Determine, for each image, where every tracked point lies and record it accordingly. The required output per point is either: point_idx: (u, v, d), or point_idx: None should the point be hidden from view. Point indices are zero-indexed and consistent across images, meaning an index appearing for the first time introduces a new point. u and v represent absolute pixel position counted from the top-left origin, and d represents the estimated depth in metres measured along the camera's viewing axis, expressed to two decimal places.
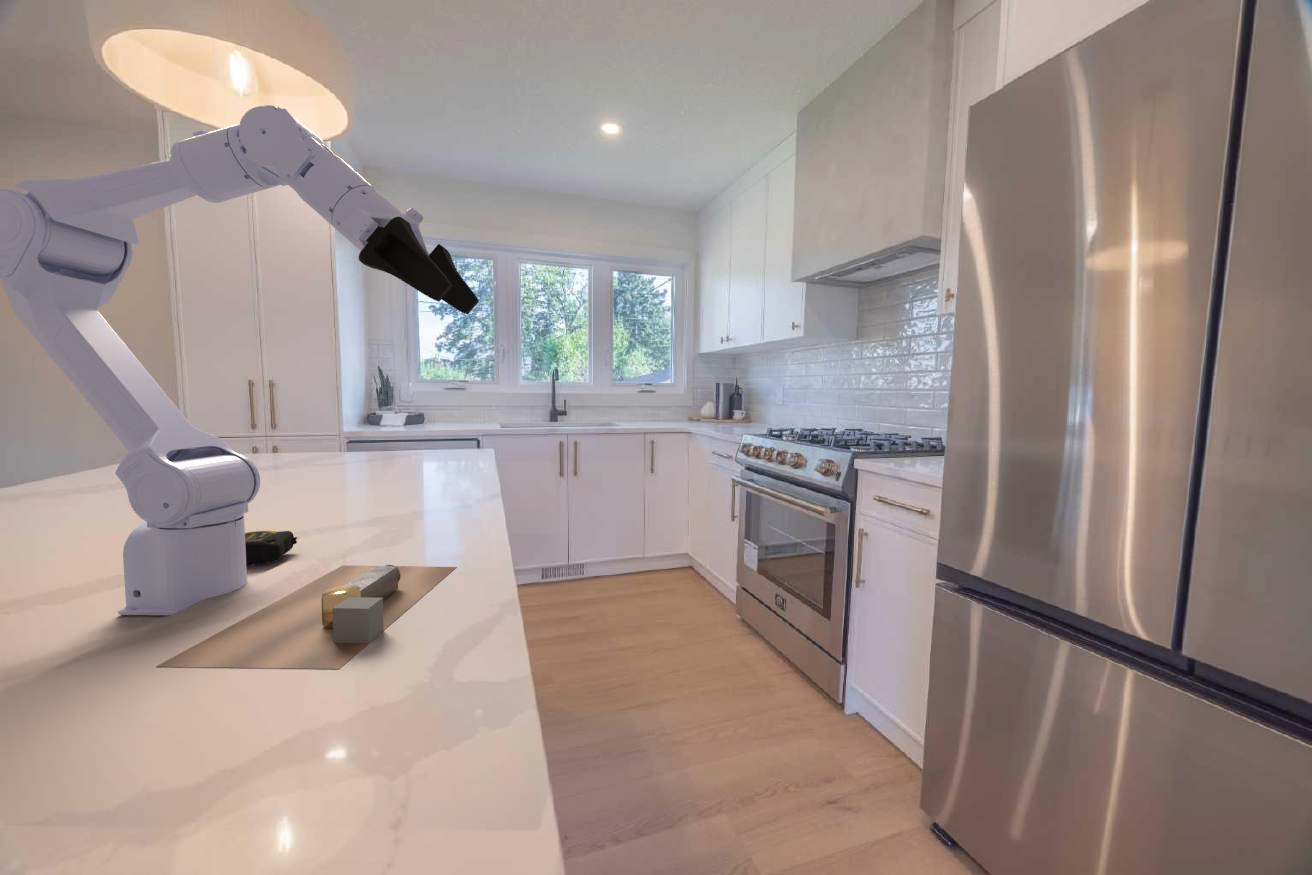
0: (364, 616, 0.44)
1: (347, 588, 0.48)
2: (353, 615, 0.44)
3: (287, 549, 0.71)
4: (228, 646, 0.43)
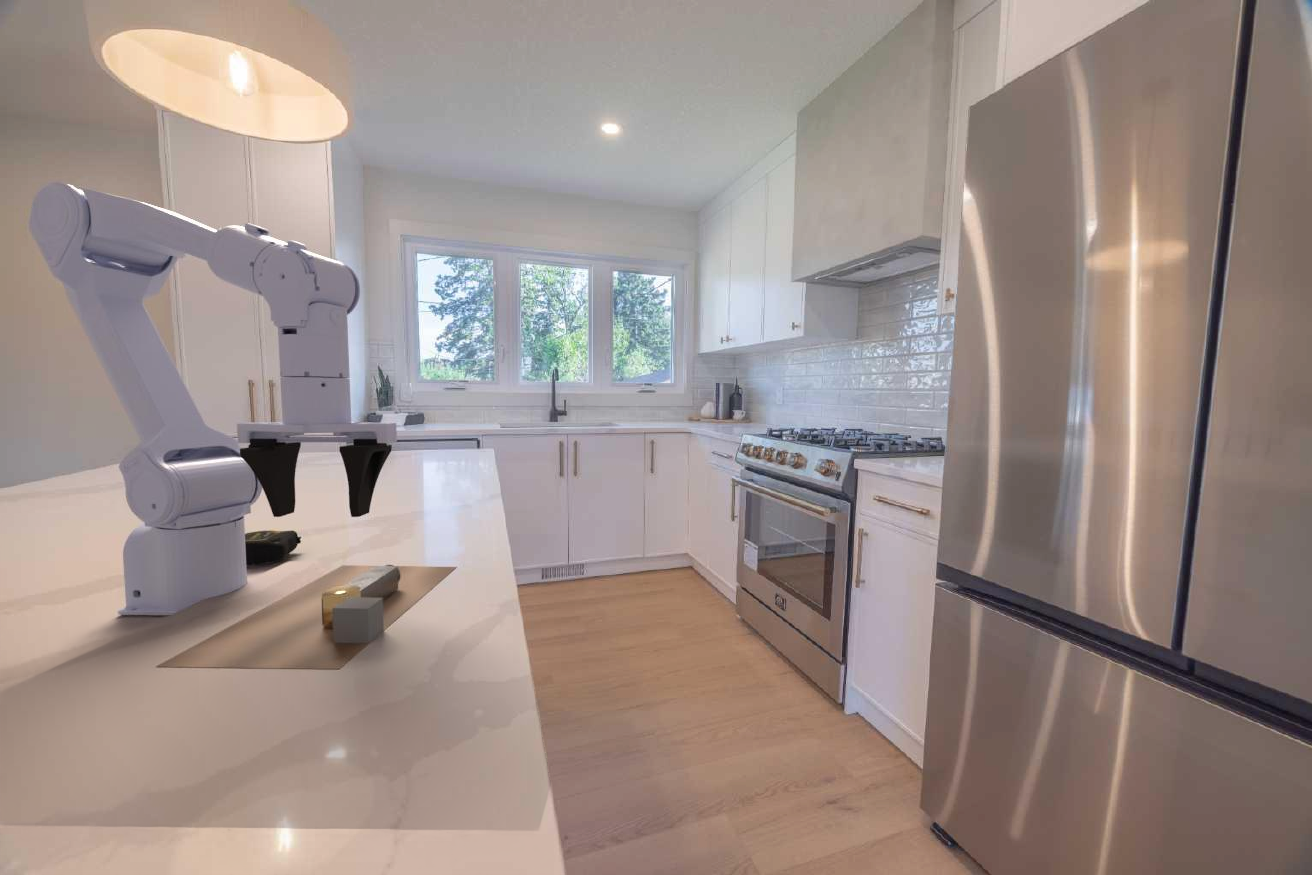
0: (364, 616, 0.44)
1: (347, 588, 0.48)
2: (353, 615, 0.44)
3: (291, 549, 0.71)
4: (228, 646, 0.43)
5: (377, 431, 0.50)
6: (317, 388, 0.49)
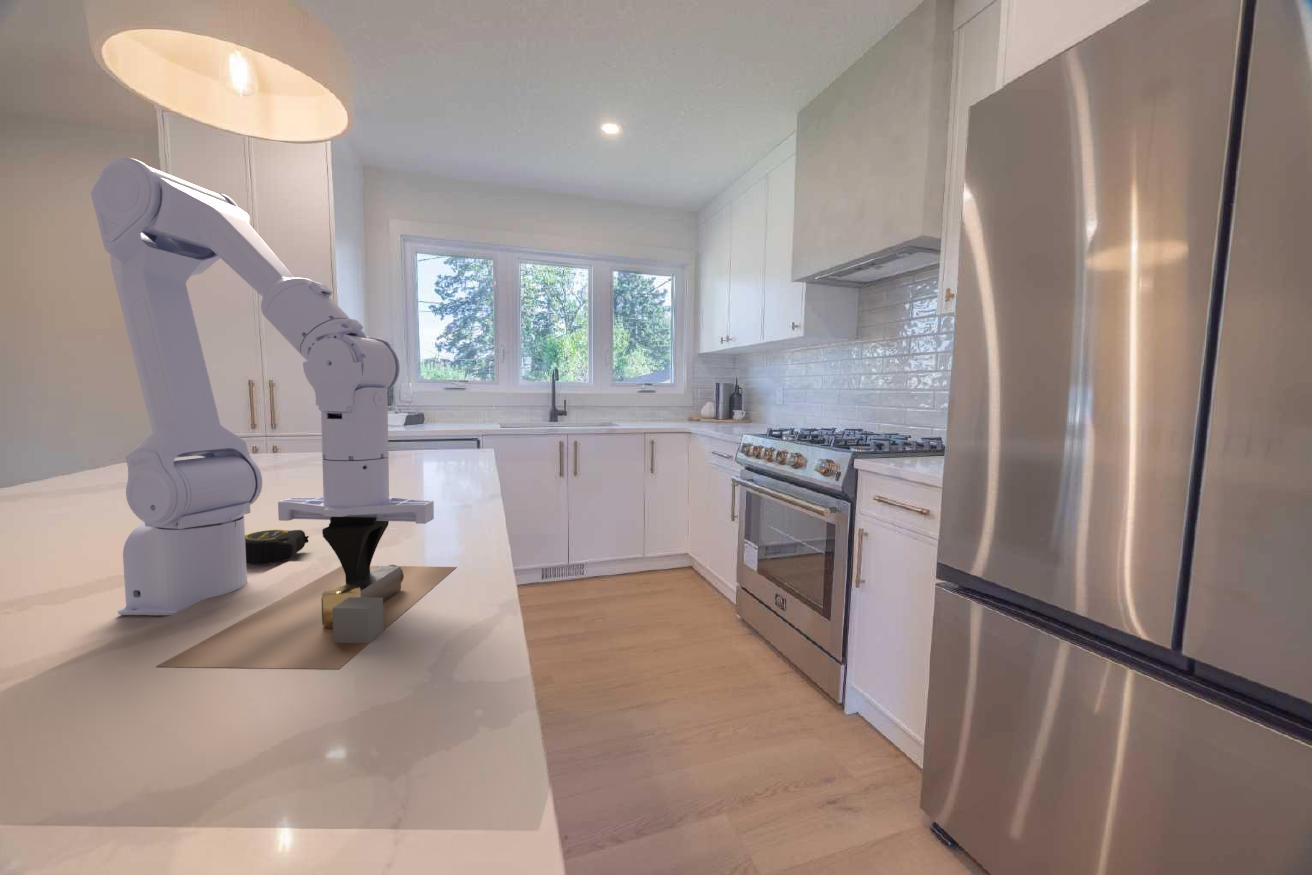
0: (364, 616, 0.44)
1: (347, 588, 0.48)
2: (353, 615, 0.44)
3: (299, 548, 0.71)
4: (228, 646, 0.43)
5: (416, 512, 0.51)
6: (359, 471, 0.49)
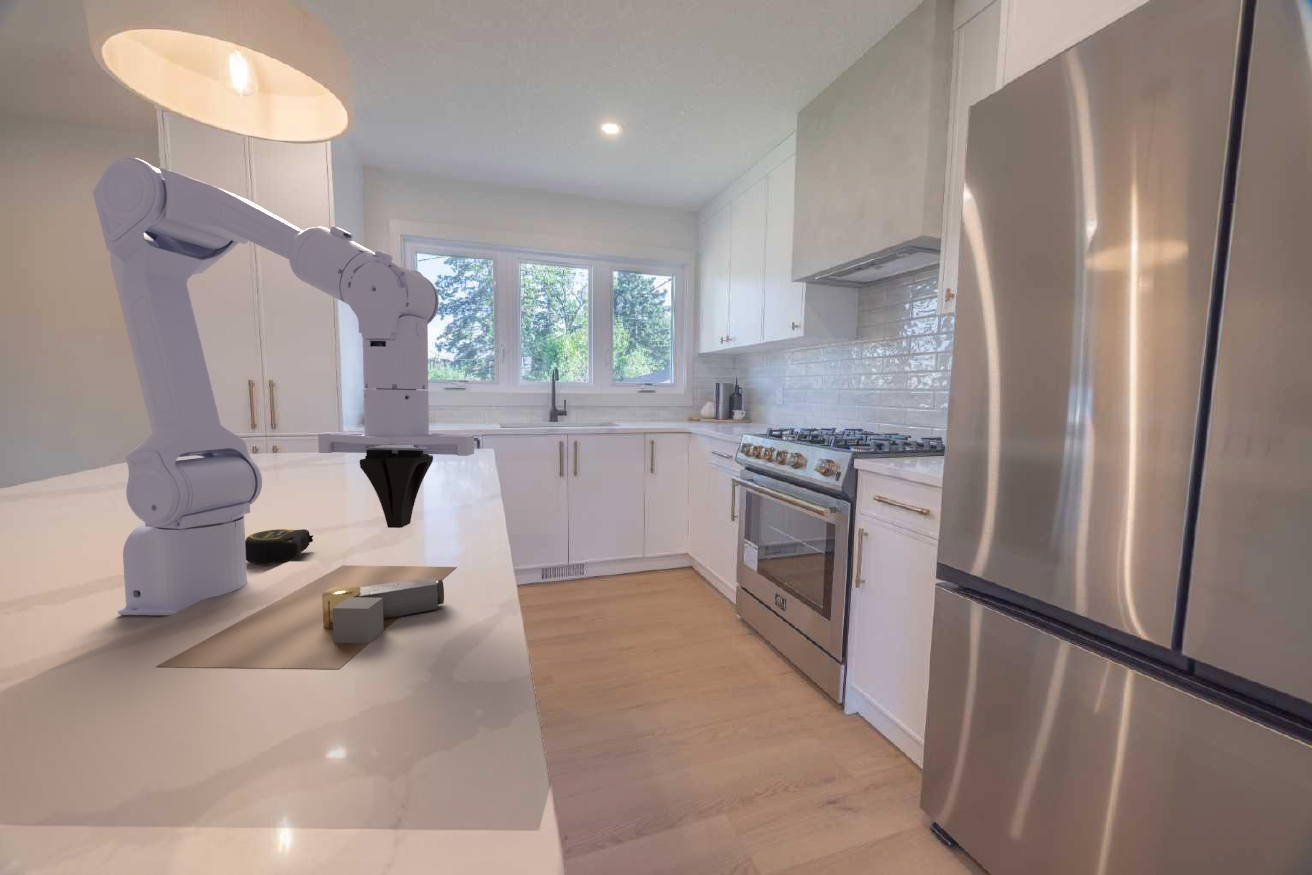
0: (364, 616, 0.44)
1: (350, 590, 0.48)
2: (353, 615, 0.44)
3: (304, 547, 0.72)
4: (228, 646, 0.43)
5: (458, 444, 0.51)
6: (401, 400, 0.49)
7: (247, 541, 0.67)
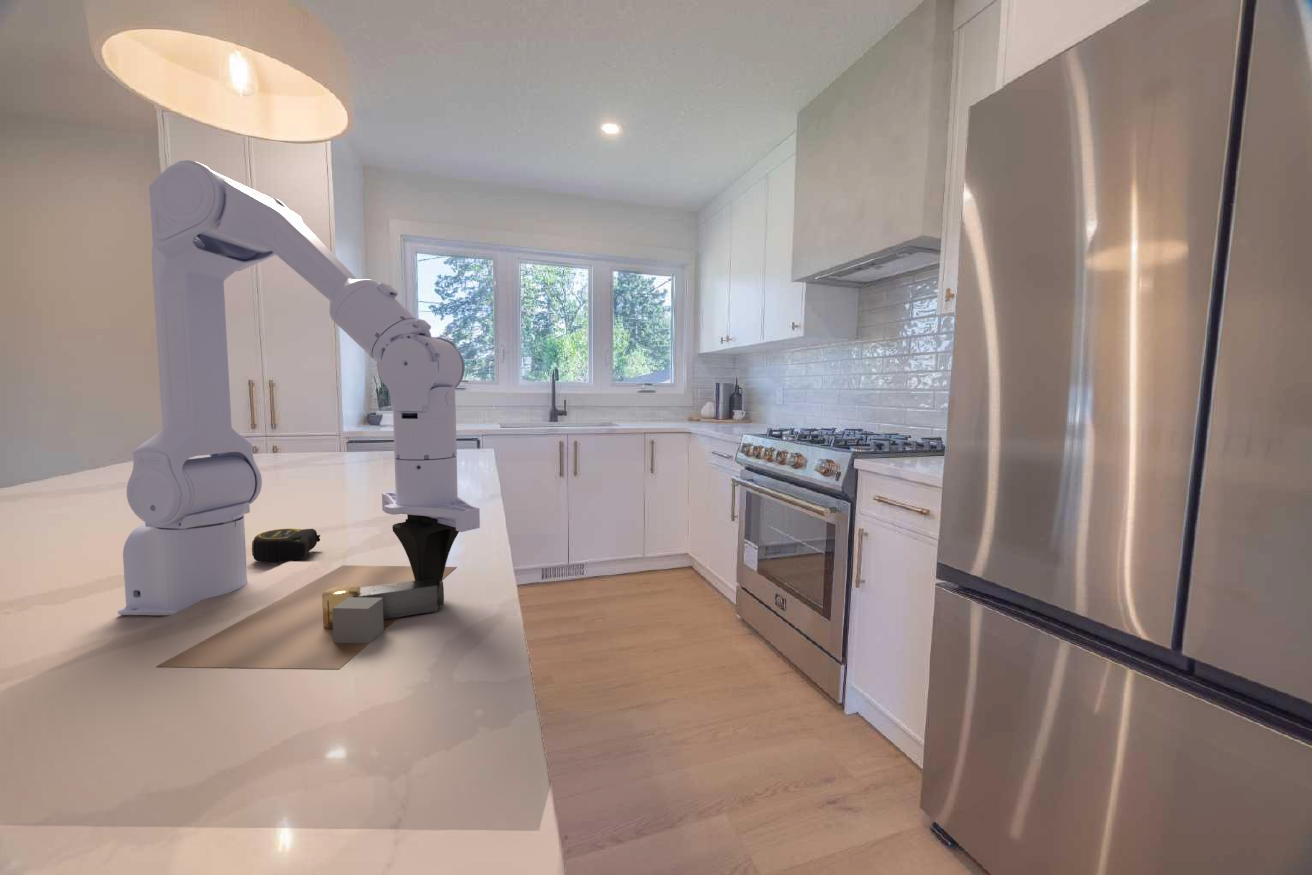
0: (364, 616, 0.44)
1: (350, 590, 0.48)
2: (353, 615, 0.44)
3: (311, 547, 0.72)
4: (228, 646, 0.43)
5: (455, 518, 0.48)
6: (412, 471, 0.49)
7: (255, 540, 0.67)
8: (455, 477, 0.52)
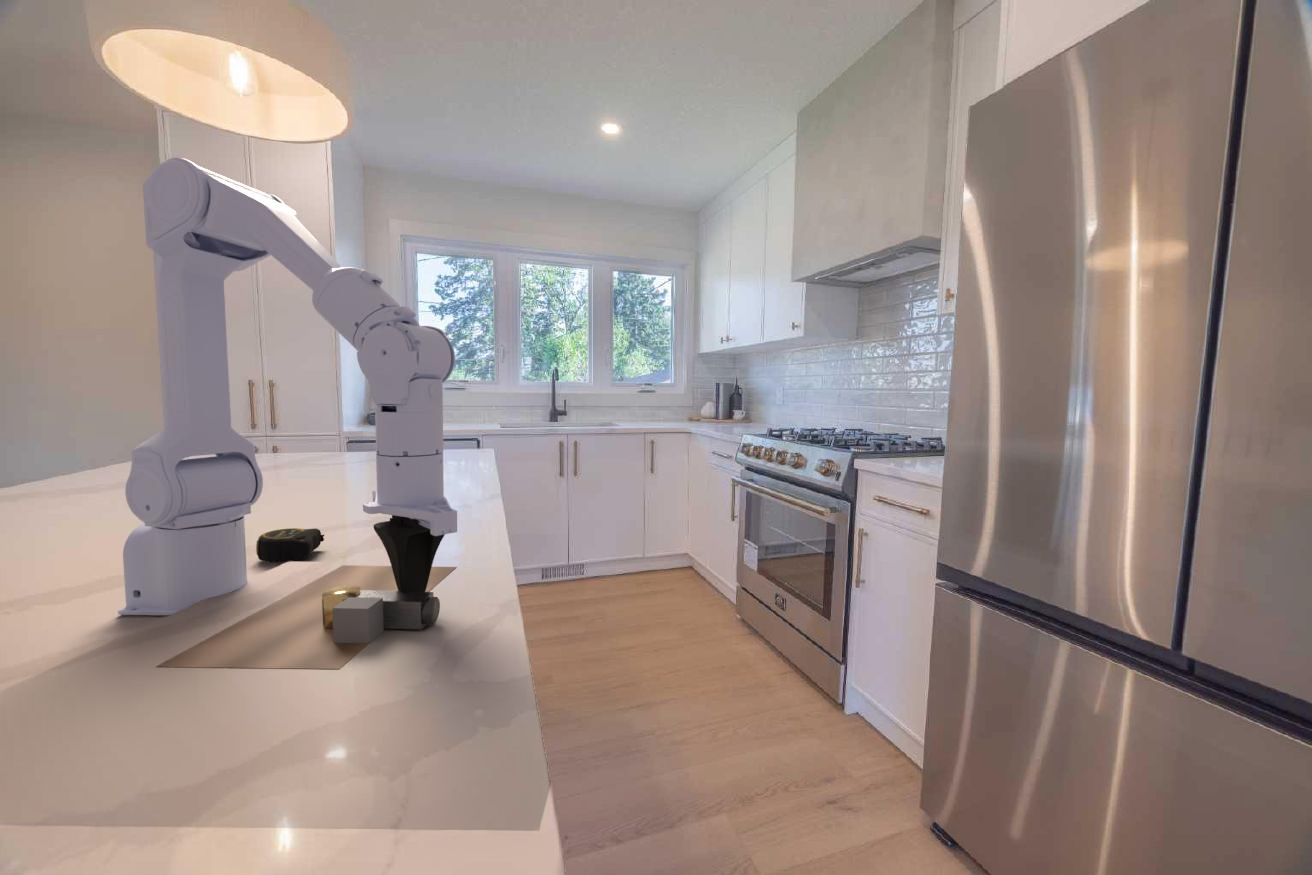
0: (364, 616, 0.44)
1: (348, 592, 0.47)
2: (353, 615, 0.44)
3: (315, 546, 0.72)
4: (228, 646, 0.43)
5: (429, 521, 0.44)
6: (391, 468, 0.46)
7: (260, 540, 0.68)
8: (439, 476, 0.49)
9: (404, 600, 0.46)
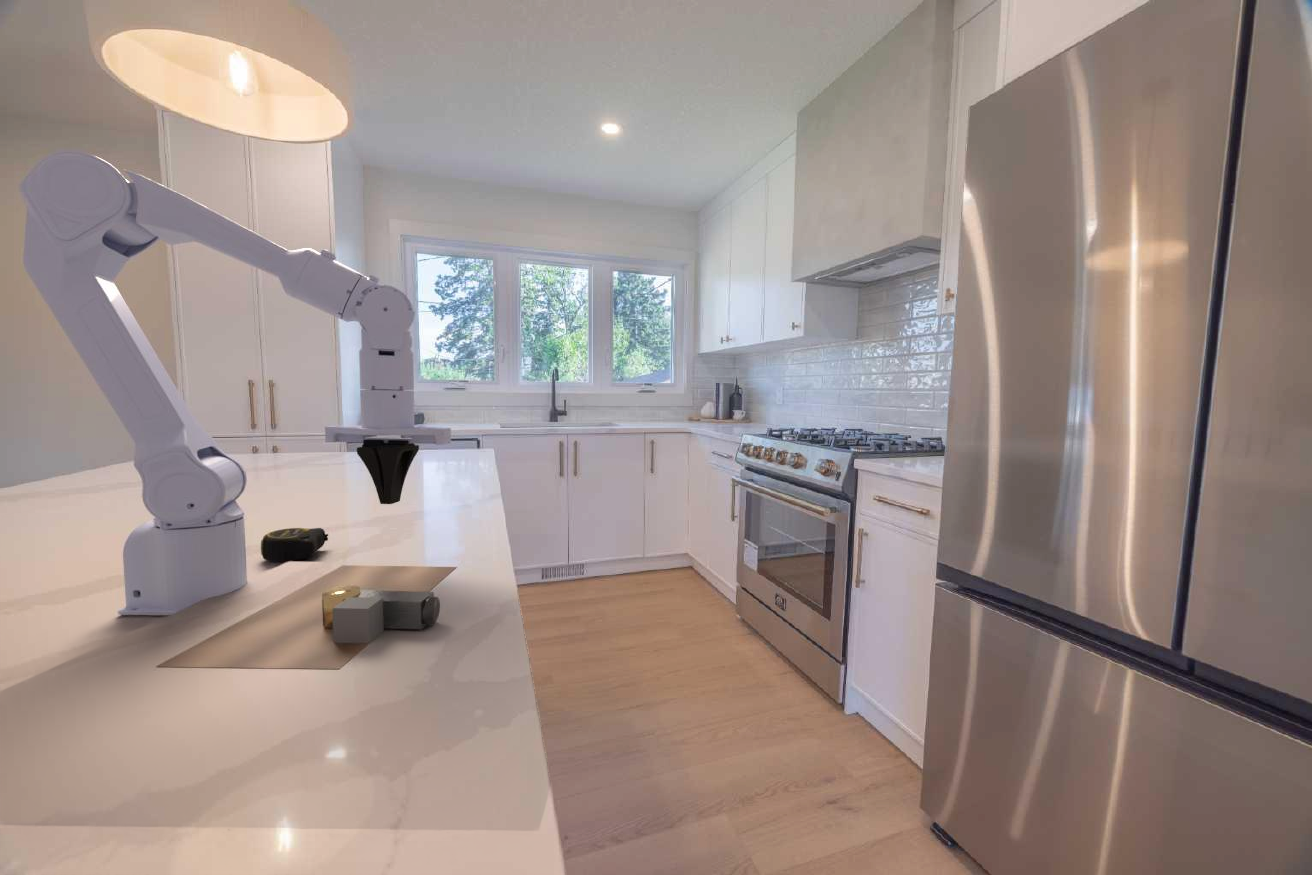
0: (364, 616, 0.44)
1: (348, 592, 0.47)
2: (353, 615, 0.44)
3: (319, 546, 0.72)
4: (228, 646, 0.43)
5: (436, 434, 0.61)
6: (389, 399, 0.60)
7: (264, 539, 0.68)
8: None
9: (404, 600, 0.46)
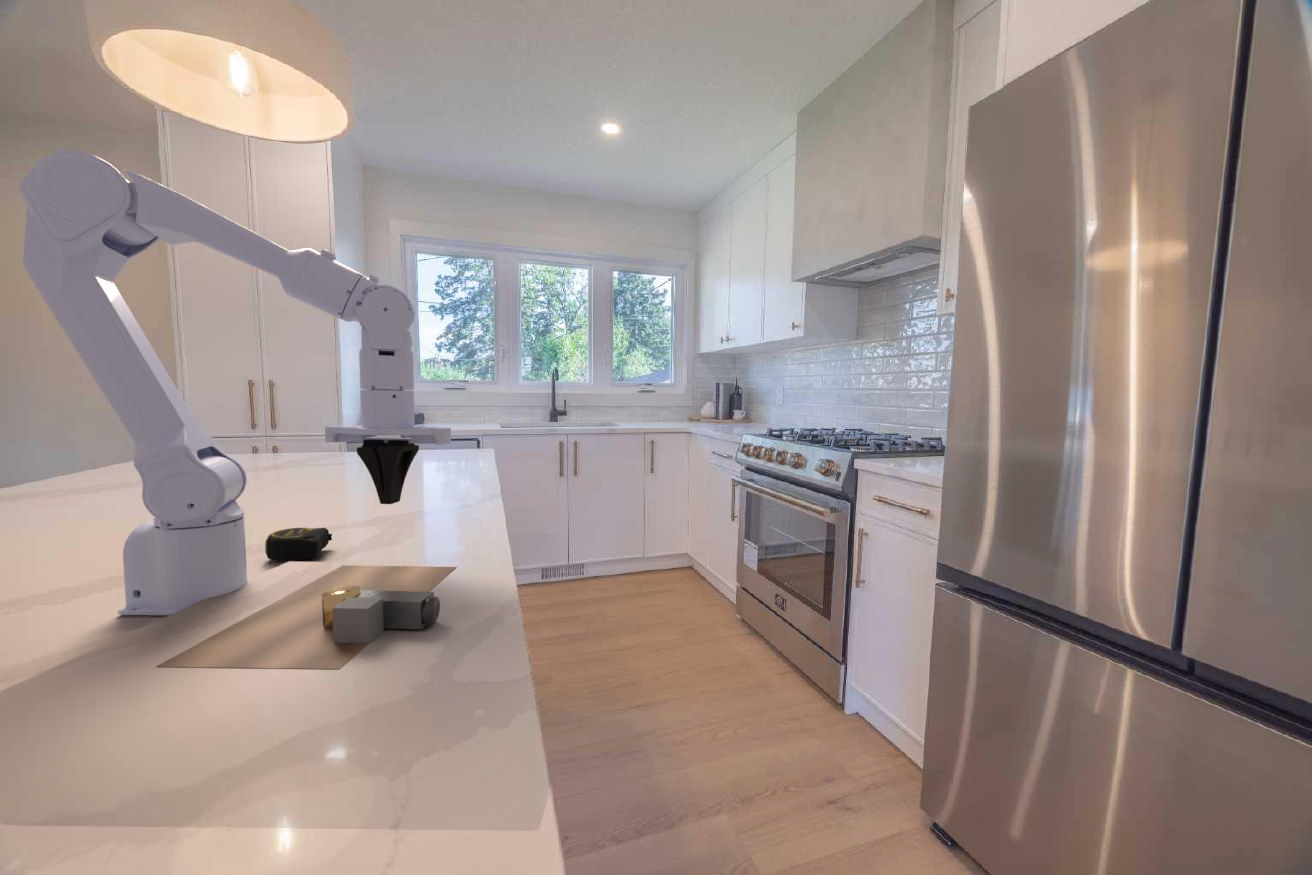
0: (364, 616, 0.44)
1: (348, 592, 0.47)
2: (353, 615, 0.44)
3: (323, 545, 0.73)
4: (228, 646, 0.43)
5: (436, 434, 0.61)
6: (389, 399, 0.60)
7: (269, 539, 0.68)
8: None
9: (404, 600, 0.46)
